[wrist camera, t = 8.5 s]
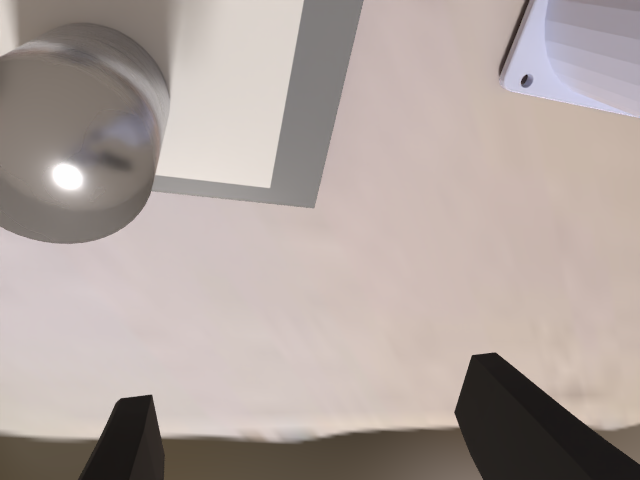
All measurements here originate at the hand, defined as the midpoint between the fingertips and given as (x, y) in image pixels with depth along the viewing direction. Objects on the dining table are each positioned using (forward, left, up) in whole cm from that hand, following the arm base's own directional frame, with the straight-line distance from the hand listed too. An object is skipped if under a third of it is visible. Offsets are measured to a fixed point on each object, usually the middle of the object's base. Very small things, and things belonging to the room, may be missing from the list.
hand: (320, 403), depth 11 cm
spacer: (+6, -4, -8) cm, 11 cm away
